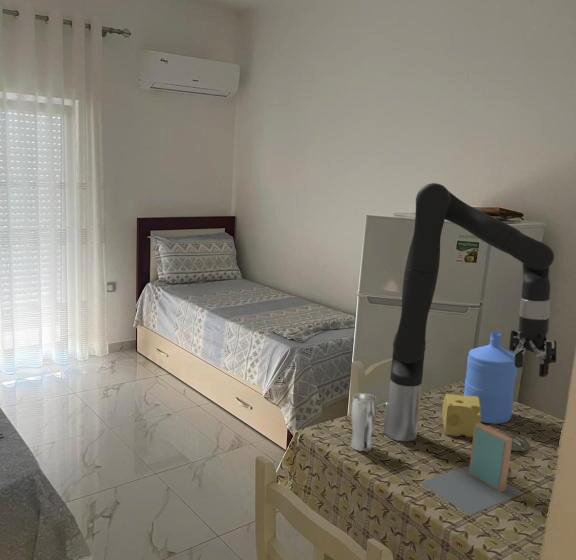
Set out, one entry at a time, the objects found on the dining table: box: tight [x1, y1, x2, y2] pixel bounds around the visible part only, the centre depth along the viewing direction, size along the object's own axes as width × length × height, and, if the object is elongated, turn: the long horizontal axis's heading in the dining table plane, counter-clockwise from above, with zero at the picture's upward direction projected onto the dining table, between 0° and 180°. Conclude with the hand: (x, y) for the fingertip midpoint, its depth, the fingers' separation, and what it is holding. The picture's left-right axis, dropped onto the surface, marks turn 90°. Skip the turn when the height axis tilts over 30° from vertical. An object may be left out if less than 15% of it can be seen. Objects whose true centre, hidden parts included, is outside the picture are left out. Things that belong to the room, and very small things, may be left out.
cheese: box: [441, 393, 482, 438], centre depth 177 cm, size 10×11×10 cm
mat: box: [419, 464, 524, 516], centre depth 144 cm, size 16×20×1 cm
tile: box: [469, 422, 513, 492], centre depth 146 cm, size 10×2×14 cm, turn 32°
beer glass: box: [350, 392, 377, 452], centre depth 163 cm, size 7×7×15 cm
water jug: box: [463, 332, 518, 425], centre depth 188 cm, size 16×16×28 cm
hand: (530, 371), depth 159 cm, fingers open, 8 cm apart
